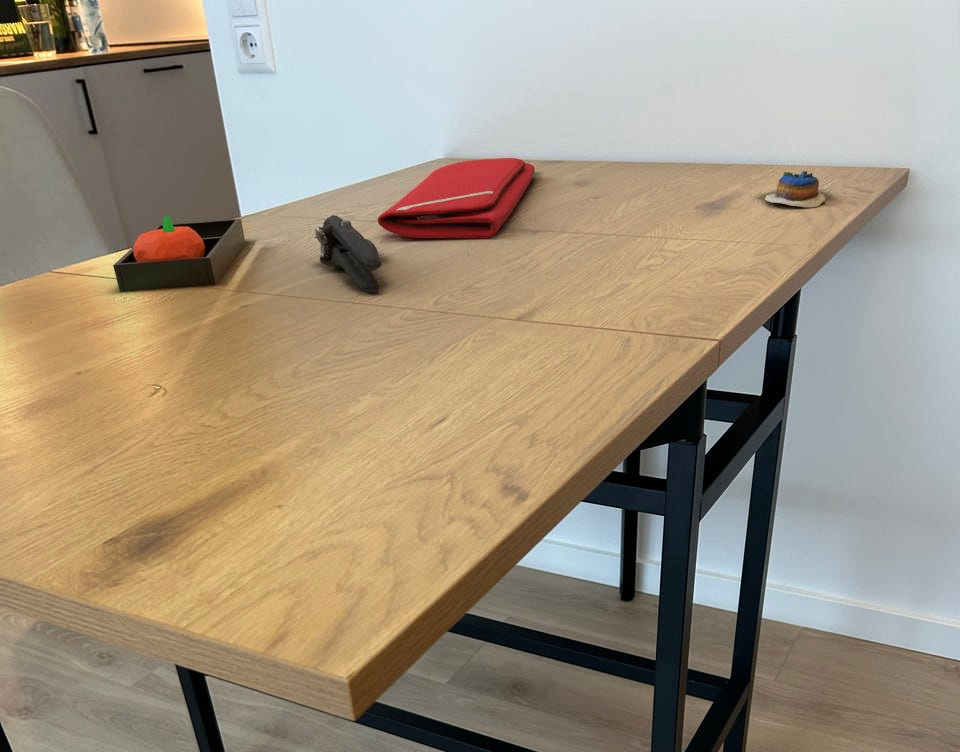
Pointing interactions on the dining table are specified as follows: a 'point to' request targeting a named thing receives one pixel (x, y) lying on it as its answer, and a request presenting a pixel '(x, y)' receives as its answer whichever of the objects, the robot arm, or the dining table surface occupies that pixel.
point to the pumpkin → (168, 244)
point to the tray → (185, 260)
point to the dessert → (797, 190)
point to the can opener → (349, 252)
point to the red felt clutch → (461, 200)
